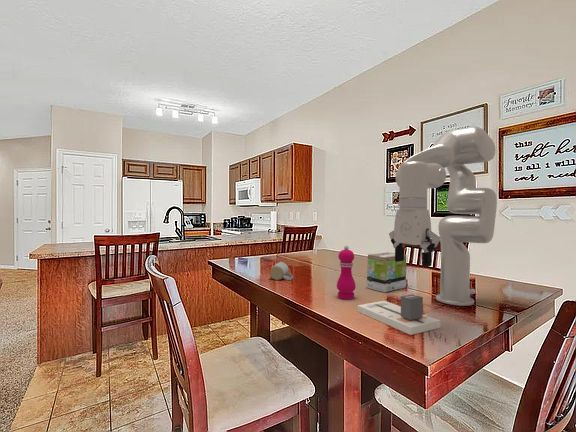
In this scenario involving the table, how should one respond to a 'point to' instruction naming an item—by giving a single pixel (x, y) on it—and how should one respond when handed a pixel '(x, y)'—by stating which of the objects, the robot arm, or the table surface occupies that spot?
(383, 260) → the tea box
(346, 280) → the pepper mill
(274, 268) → the ceramic mug
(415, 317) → the fader
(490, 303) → the table surface
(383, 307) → the fader console
